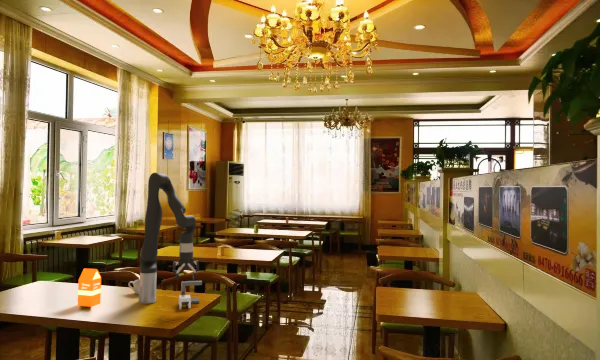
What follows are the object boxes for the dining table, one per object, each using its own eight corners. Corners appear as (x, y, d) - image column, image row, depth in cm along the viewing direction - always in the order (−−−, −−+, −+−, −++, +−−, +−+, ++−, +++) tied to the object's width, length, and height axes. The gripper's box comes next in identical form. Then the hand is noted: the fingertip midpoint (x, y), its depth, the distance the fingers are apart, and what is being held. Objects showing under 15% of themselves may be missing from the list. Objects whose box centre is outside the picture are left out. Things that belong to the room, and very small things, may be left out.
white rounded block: (190, 308, 235) (190, 297, 236) (179, 309, 233) (179, 298, 234) (189, 304, 244) (189, 293, 244) (178, 305, 242) (178, 294, 242)
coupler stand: (181, 304, 243) (181, 283, 243) (180, 300, 251) (181, 280, 251) (201, 303, 247) (202, 282, 247) (200, 299, 254) (201, 279, 254)
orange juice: (91, 306, 234) (92, 270, 235) (77, 305, 236) (78, 269, 237) (100, 303, 242) (101, 267, 243) (87, 302, 244) (88, 267, 244)
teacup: (154, 291, 271) (154, 279, 271) (146, 296, 260) (146, 282, 260) (133, 290, 272) (133, 278, 273) (124, 295, 262) (125, 281, 262)
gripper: (173, 252, 233) (173, 281, 233) (199, 251, 238) (199, 280, 238) (172, 250, 240) (172, 279, 240) (198, 249, 245) (198, 277, 245)
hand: (185, 279), depth 239 cm, fingers open, 8 cm apart
